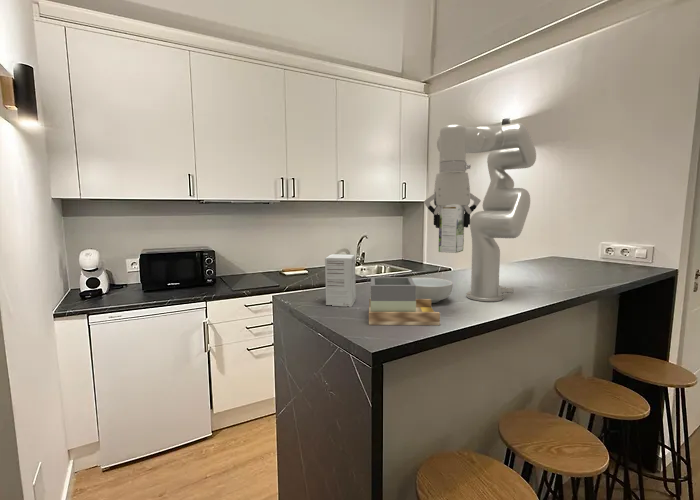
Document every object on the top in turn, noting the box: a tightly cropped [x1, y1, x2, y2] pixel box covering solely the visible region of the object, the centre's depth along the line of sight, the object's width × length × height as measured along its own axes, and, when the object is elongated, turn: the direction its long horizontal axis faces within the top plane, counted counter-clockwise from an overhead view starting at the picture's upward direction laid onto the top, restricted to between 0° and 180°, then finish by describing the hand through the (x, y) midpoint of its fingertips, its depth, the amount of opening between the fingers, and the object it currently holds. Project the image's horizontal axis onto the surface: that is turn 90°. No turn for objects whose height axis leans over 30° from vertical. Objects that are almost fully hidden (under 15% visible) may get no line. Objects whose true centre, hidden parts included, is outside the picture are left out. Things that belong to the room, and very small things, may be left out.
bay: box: [368, 298, 441, 326], centre depth 111 cm, size 20×16×4 cm
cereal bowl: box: [411, 277, 453, 304], centre depth 130 cm, size 17×17×7 cm
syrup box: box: [438, 204, 465, 254], centre depth 110 cm, size 6×6×14 cm
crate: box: [370, 276, 416, 312], centre depth 111 cm, size 13×13×10 cm
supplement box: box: [324, 253, 357, 308], centre depth 127 cm, size 10×9×17 cm
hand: (451, 227), depth 110 cm, fingers closed on syrup box, 8 cm apart
